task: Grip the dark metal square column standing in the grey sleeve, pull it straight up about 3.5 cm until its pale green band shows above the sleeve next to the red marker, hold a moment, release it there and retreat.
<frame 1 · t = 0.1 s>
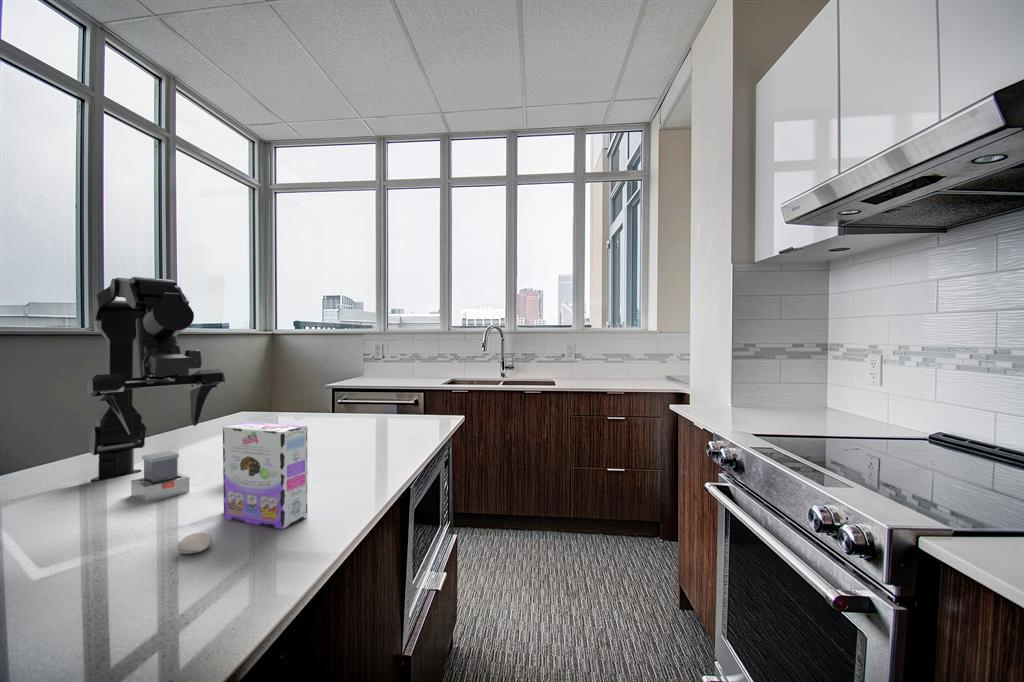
hand: (164, 429, 77), 15 cm above the table, tool pointing down, fingers open, 9 cm apart
stand base: (160, 499, 85), on the table
column: (160, 474, 85), point 5 cm above the table, slide at 0.0 cm
candy box: (265, 519, 77), on the table
white rounded lump: (196, 554, 65), on the table
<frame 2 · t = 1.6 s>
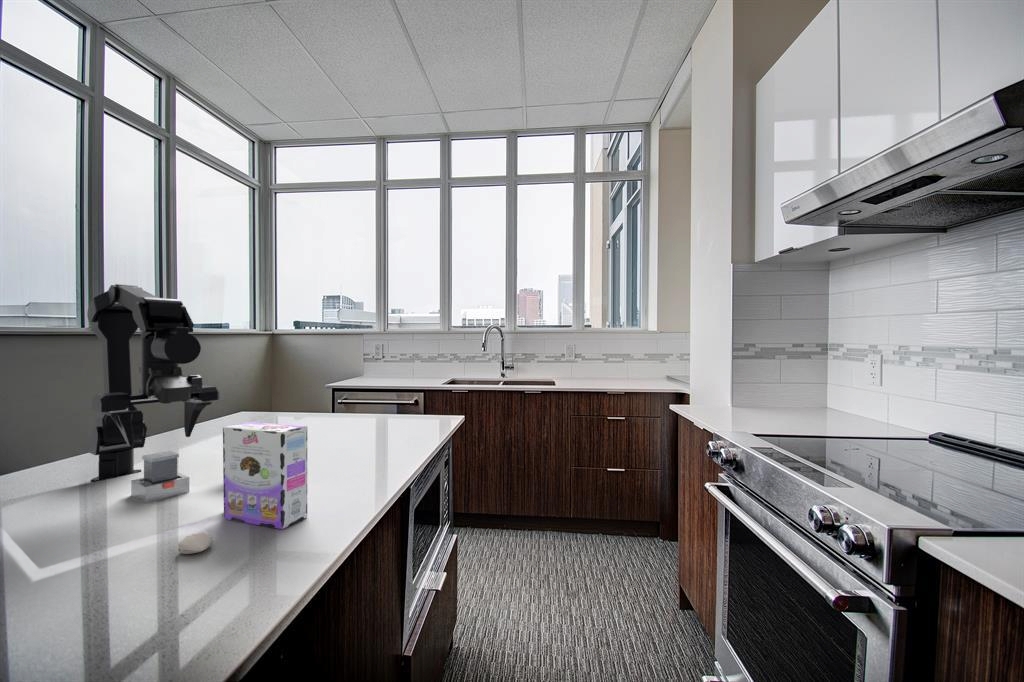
hand: (160, 441, 85), 11 cm above the table, tool pointing down, fingers open, 9 cm apart
nothing on the table moved.
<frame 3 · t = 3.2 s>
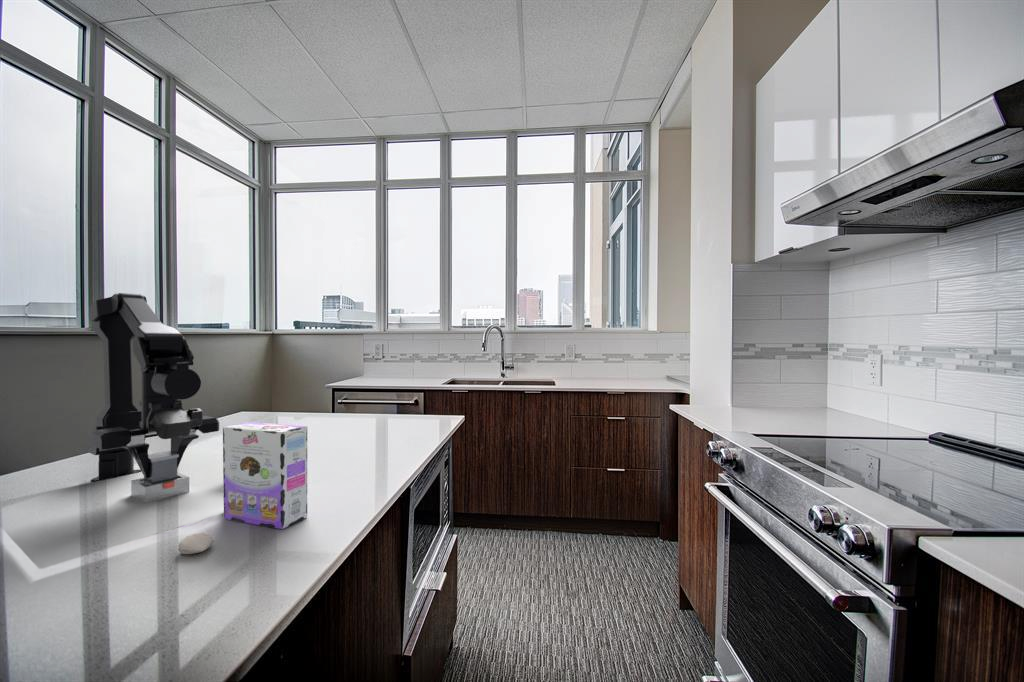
hand: (160, 474, 85), 5 cm above the table, tool pointing down, fingers closed on column, 4 cm apart
column: (160, 474, 85), point 5 cm above the table, slide at 0.0 cm, touching gripper
everything else where it was.
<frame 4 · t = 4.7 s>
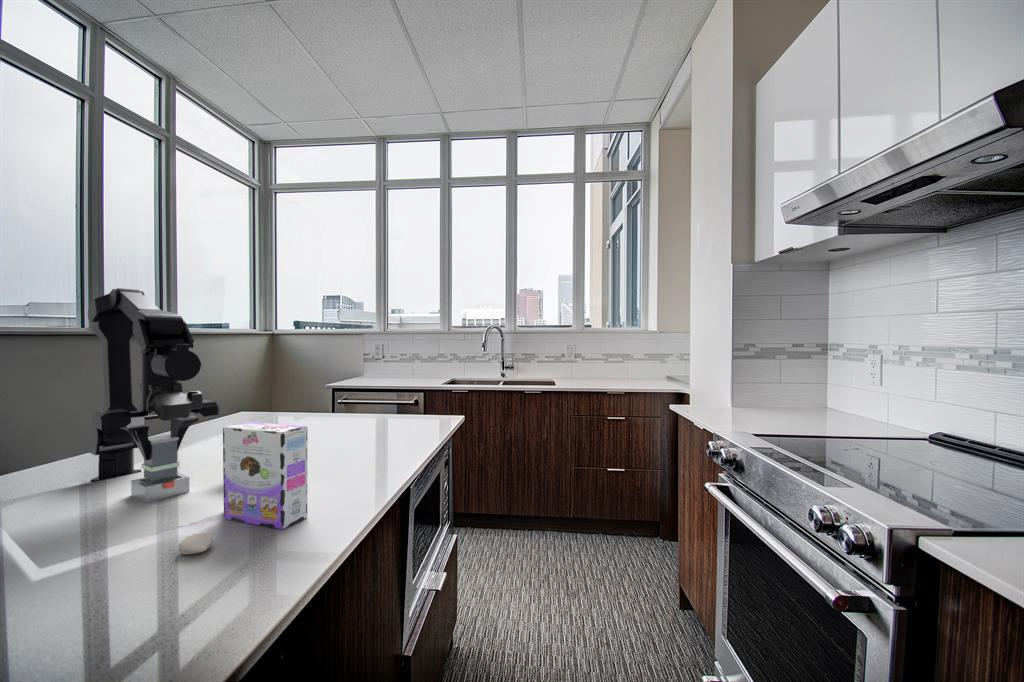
hand: (160, 457, 85), 8 cm above the table, tool pointing down, fingers closed on column, 4 cm apart
column: (160, 456, 85), point 8 cm above the table, slide at 3.4 cm, touching gripper
everything else where it was.
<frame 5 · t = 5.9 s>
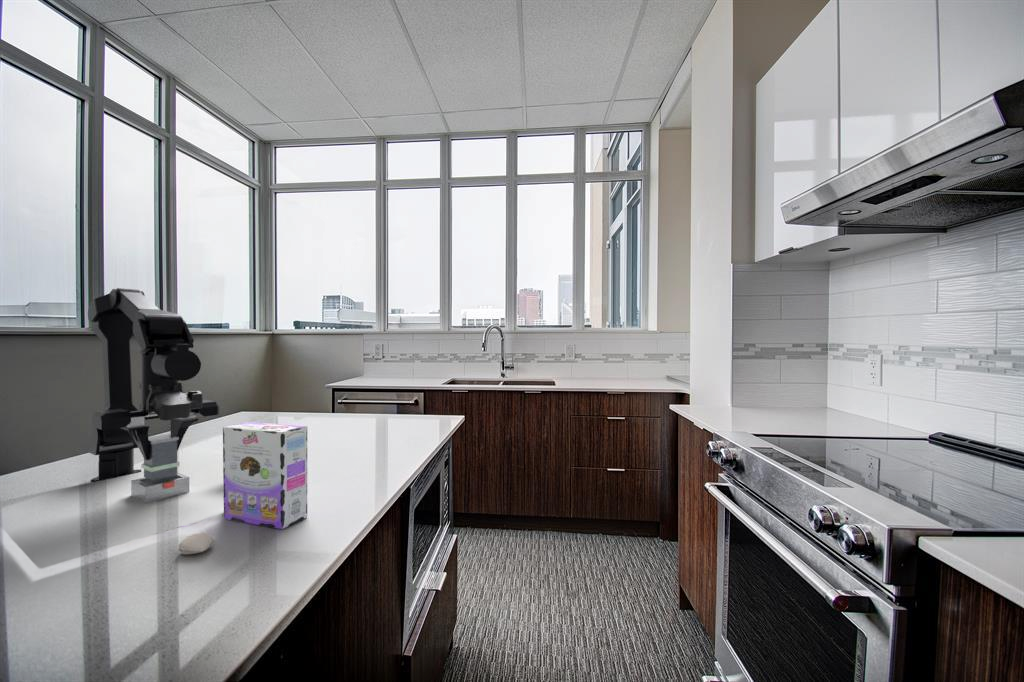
hand: (160, 457, 85), 8 cm above the table, tool pointing down, fingers closed on column, 4 cm apart
column: (160, 456, 85), point 8 cm above the table, slide at 3.4 cm, touching gripper
everything else where it was.
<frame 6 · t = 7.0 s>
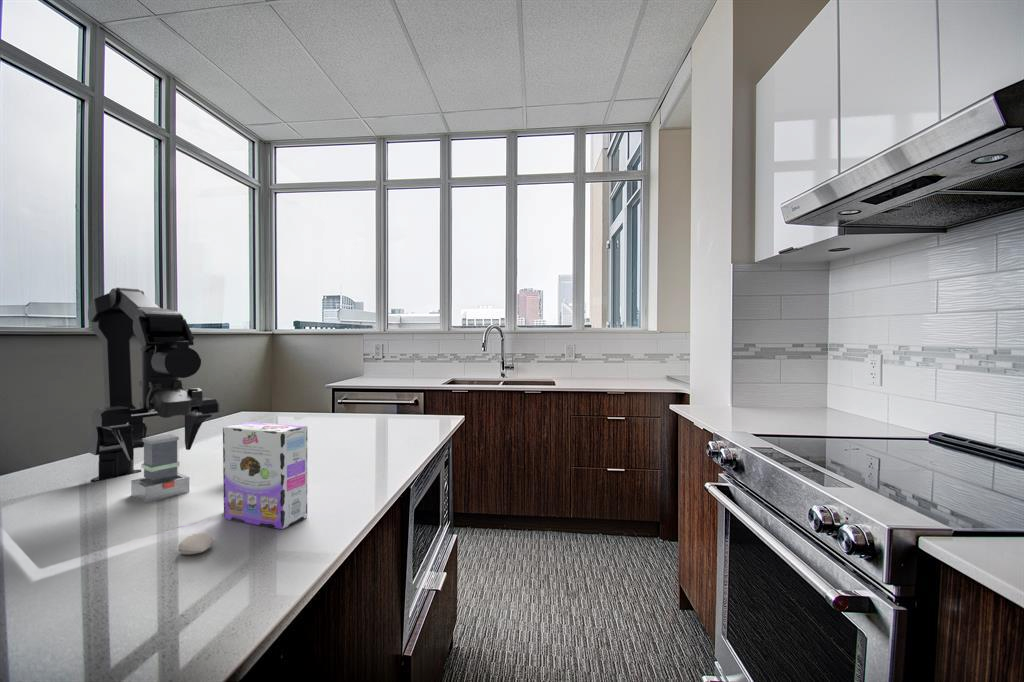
hand: (160, 454, 85), 9 cm above the table, tool pointing down, fingers open, 9 cm apart
column: (160, 456, 85), point 8 cm above the table, slide at 3.4 cm
everything else where it was.
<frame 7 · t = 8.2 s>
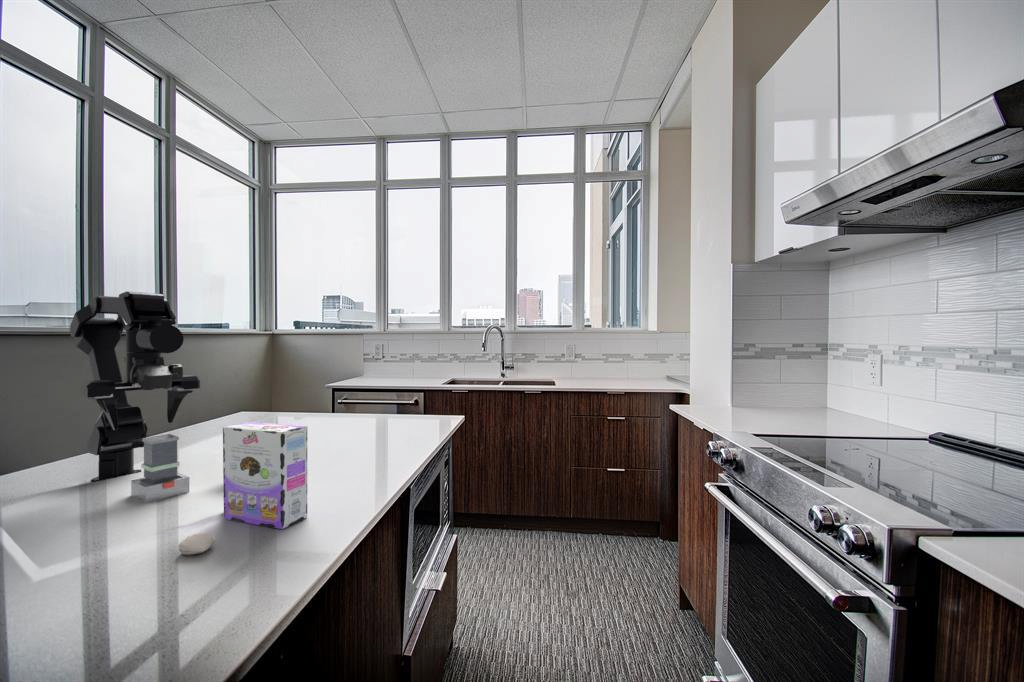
hand: (143, 426, 91), 13 cm above the table, tool pointing down, fingers open, 9 cm apart
nothing on the table moved.
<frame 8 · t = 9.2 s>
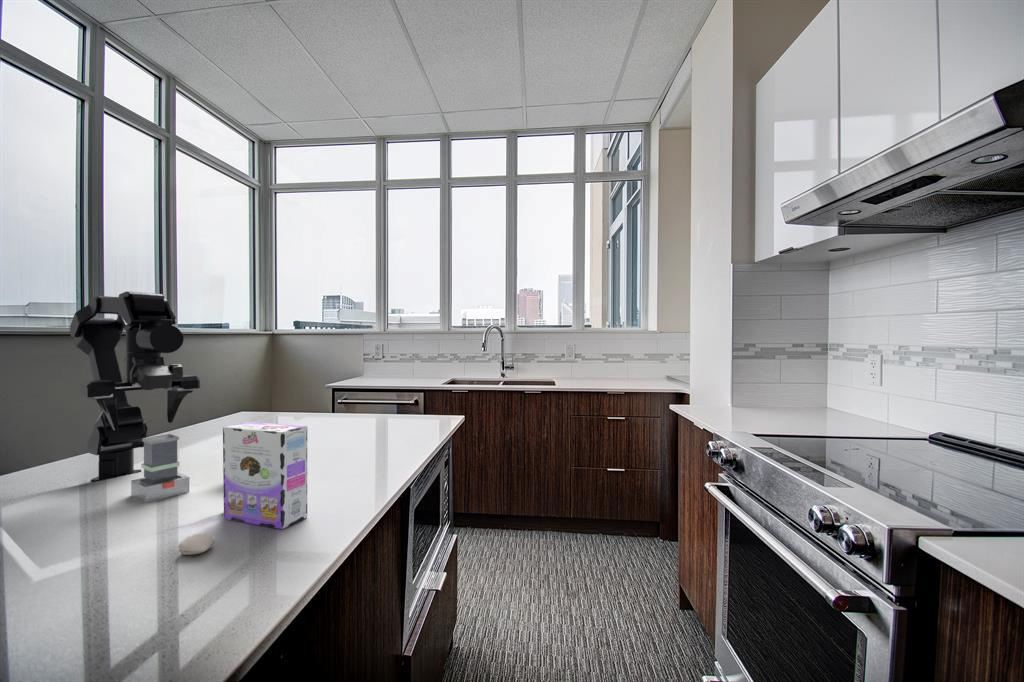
hand: (144, 426, 91), 13 cm above the table, tool pointing down, fingers open, 9 cm apart
nothing on the table moved.
at the end: column slide at 3.4 cm; the gripper is holding nothing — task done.
